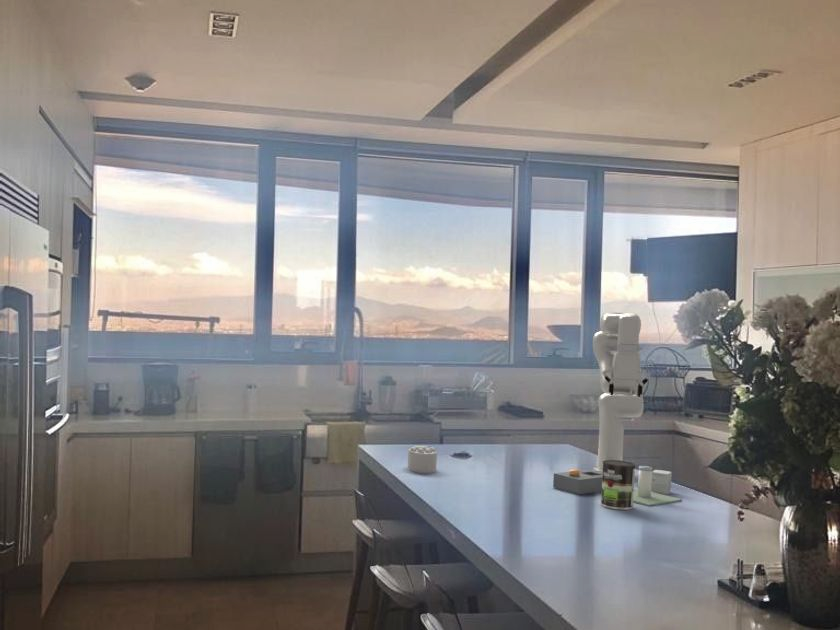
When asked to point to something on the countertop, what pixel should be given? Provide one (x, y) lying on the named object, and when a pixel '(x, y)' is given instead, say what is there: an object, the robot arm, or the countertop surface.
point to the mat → (654, 499)
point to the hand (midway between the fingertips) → (625, 395)
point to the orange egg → (574, 472)
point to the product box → (661, 481)
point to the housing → (579, 482)
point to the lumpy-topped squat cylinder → (422, 459)
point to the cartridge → (644, 481)
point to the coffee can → (618, 484)
